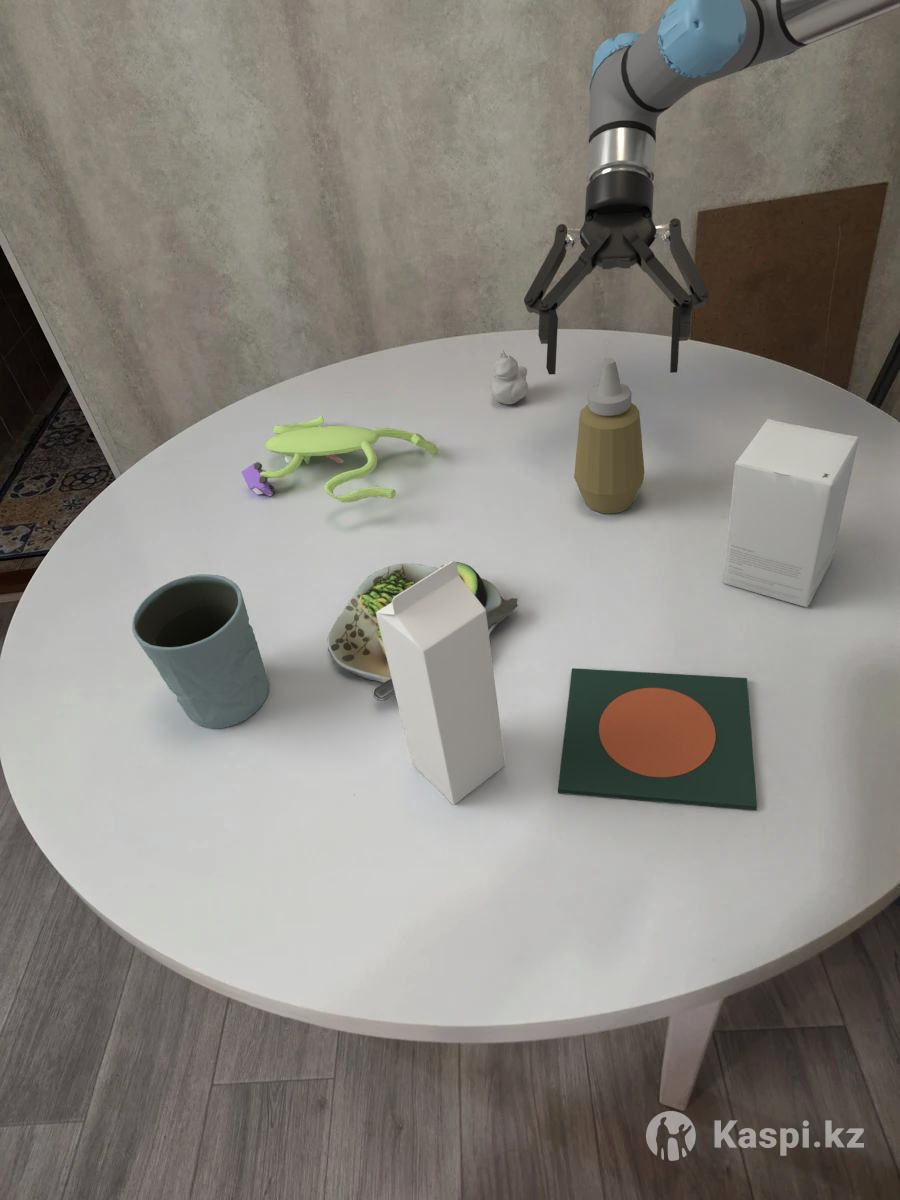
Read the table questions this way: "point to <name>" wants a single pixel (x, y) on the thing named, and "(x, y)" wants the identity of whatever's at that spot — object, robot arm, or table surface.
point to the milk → (444, 681)
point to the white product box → (787, 510)
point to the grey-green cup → (204, 648)
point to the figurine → (327, 454)
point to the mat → (659, 738)
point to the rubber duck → (508, 380)
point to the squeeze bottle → (609, 445)
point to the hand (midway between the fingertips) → (611, 370)
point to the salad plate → (357, 626)
